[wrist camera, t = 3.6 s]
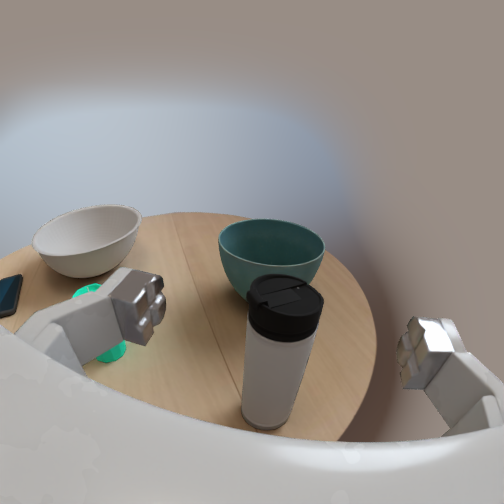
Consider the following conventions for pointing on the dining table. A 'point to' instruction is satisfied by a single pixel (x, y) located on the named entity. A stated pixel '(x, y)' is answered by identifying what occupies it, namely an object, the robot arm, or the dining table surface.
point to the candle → (116, 350)
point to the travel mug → (277, 346)
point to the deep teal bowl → (268, 251)
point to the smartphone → (9, 294)
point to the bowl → (88, 239)
